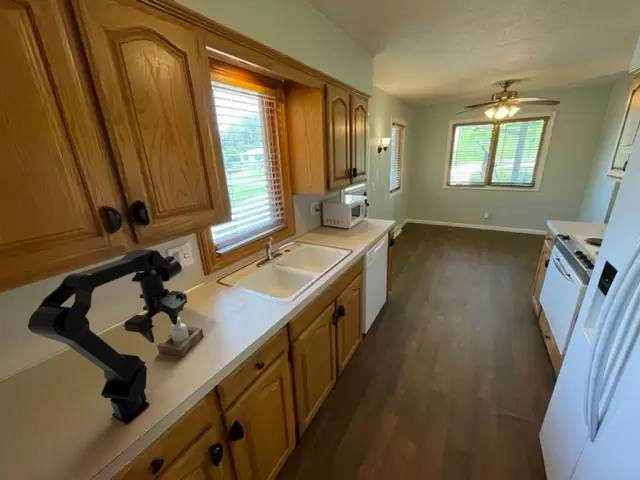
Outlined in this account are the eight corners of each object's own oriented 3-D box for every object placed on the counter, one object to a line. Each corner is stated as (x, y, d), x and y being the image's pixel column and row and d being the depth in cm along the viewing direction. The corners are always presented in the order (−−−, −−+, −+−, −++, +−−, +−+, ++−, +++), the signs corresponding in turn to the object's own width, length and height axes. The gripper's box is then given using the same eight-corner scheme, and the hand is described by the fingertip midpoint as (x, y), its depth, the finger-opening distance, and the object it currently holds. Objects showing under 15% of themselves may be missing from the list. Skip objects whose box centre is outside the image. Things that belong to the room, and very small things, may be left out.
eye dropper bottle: (179, 350, 97) (173, 321, 93) (172, 344, 101) (165, 315, 97) (191, 343, 100) (185, 315, 97) (184, 337, 104) (178, 310, 100)
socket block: (182, 357, 94) (180, 349, 93) (159, 353, 97) (157, 345, 95) (203, 336, 105) (202, 328, 104) (182, 333, 107) (180, 325, 106)
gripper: (150, 308, 71) (162, 357, 76) (196, 277, 88) (204, 318, 93) (116, 304, 74) (130, 351, 79) (167, 274, 91) (177, 315, 96)
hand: (164, 333), depth 87 cm, fingers open, 9 cm apart
